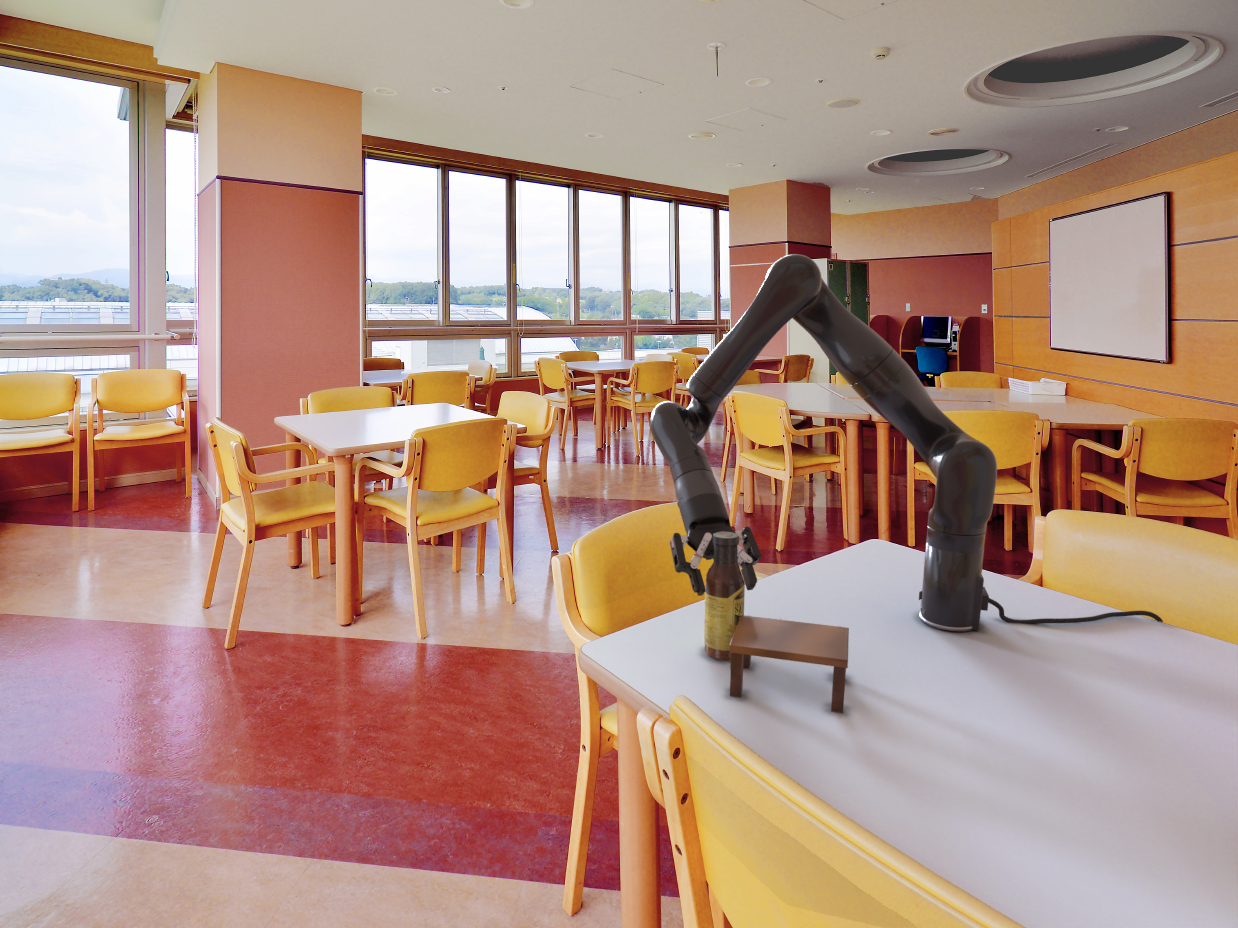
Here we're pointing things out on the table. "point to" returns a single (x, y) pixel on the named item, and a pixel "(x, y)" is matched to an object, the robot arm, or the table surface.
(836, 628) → the small brown wooden table
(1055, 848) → the table surface
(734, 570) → the sauce bottle
